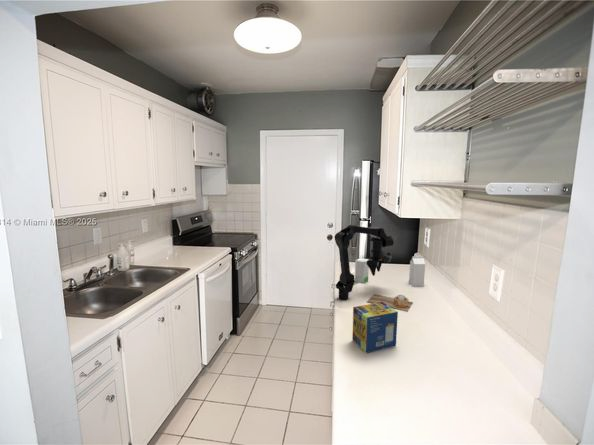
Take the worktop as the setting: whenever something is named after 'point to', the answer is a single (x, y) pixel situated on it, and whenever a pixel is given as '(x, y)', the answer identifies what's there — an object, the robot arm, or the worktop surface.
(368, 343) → the protein box
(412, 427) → the worktop surface
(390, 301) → the post board
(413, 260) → the milk carton
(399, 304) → the wooden ring
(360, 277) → the skincare box
